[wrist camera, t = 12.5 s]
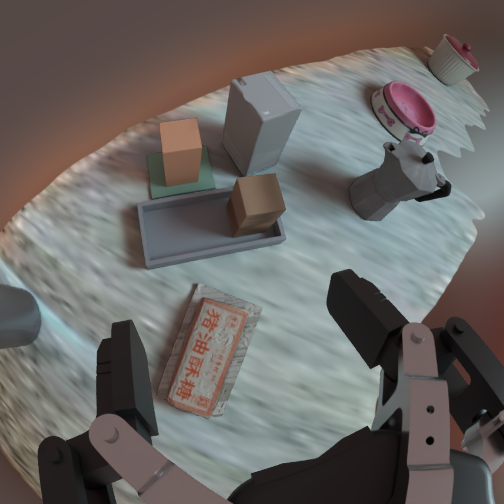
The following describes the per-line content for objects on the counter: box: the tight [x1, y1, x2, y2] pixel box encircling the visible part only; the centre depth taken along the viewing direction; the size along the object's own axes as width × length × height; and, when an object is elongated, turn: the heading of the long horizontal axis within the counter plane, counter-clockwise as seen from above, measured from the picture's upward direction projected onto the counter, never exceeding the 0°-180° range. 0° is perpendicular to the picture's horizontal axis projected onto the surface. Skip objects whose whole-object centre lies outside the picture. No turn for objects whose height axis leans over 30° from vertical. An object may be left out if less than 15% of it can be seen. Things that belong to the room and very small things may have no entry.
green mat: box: [147, 146, 215, 200], centre depth 44 cm, size 10×8×1 cm
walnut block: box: [226, 173, 286, 238], centre depth 39 cm, size 5×5×10 cm
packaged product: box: [156, 283, 262, 419], centre depth 37 cm, size 18×5×10 cm
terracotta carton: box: [159, 118, 202, 187], centre depth 39 cm, size 5×5×10 cm
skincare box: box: [222, 71, 302, 177], centre depth 40 cm, size 8×7×16 cm
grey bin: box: [137, 187, 286, 270], centre depth 41 cm, size 20×9×3 cm, turn 104°
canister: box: [428, 34, 479, 86], centre depth 65 cm, size 18×18×21 cm
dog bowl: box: [371, 81, 436, 147], centre depth 57 cm, size 18×19×7 cm
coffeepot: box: [349, 139, 451, 221], centre depth 42 cm, size 15×9×18 cm, turn 71°
